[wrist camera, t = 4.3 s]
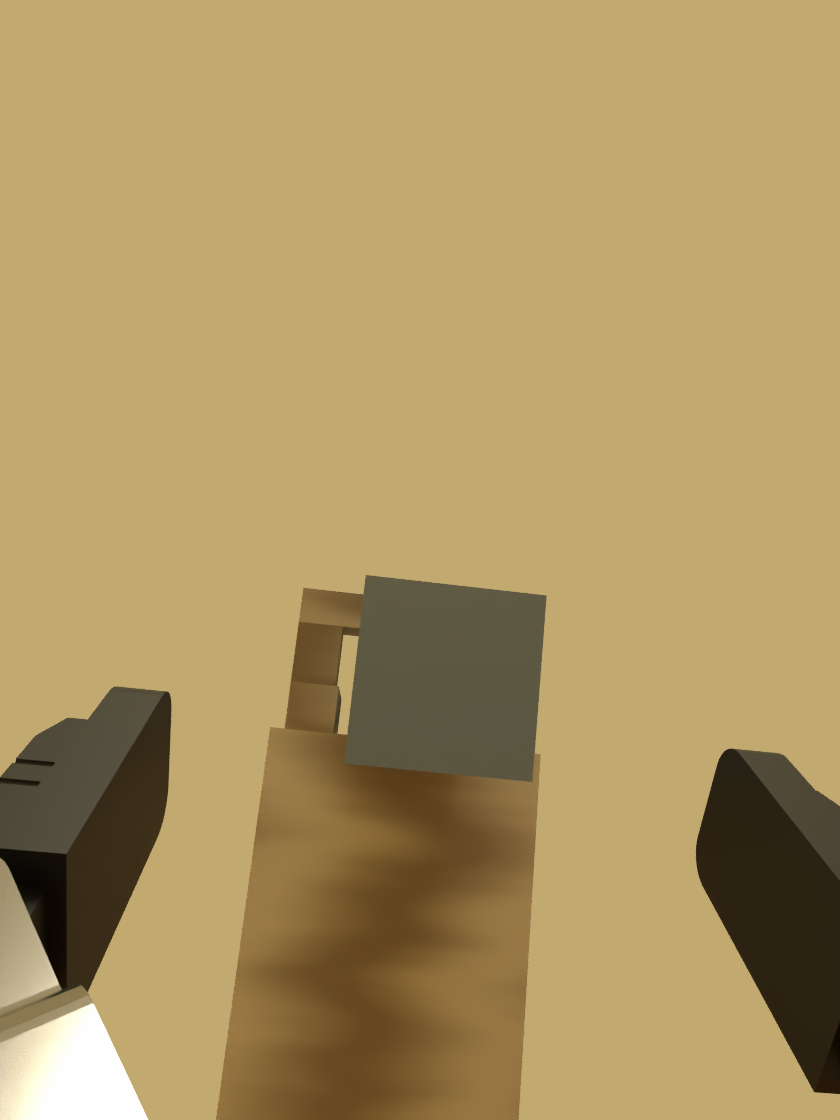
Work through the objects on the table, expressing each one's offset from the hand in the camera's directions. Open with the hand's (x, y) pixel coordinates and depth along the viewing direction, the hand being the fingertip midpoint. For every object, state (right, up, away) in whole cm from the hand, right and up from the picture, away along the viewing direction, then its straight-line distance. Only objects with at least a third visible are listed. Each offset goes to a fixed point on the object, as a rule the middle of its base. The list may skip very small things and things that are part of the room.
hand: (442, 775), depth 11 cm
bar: (-1, -1, +8) cm, 8 cm away
